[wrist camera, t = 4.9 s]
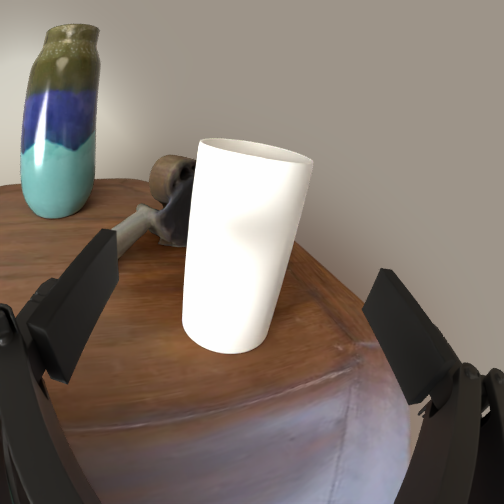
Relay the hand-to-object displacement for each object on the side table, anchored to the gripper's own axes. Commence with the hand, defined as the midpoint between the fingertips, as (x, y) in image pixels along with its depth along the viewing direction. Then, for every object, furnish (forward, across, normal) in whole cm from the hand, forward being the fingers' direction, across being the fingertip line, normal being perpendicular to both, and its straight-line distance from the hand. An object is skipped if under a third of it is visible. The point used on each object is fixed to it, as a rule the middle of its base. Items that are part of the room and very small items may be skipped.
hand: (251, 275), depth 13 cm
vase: (+30, -30, -12) cm, 44 cm away
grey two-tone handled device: (+22, -10, -12) cm, 27 cm away
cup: (+9, 0, -12) cm, 15 cm away
